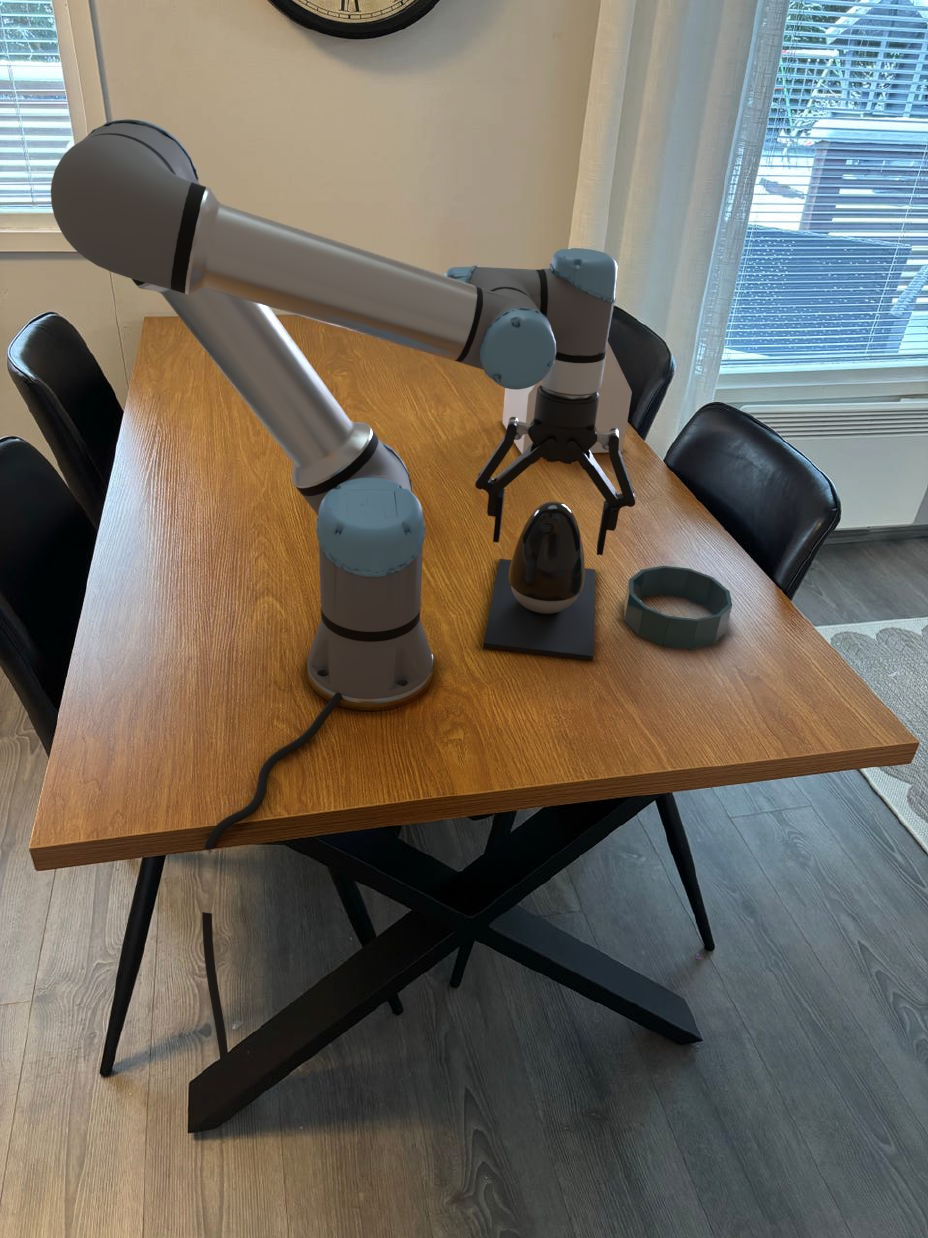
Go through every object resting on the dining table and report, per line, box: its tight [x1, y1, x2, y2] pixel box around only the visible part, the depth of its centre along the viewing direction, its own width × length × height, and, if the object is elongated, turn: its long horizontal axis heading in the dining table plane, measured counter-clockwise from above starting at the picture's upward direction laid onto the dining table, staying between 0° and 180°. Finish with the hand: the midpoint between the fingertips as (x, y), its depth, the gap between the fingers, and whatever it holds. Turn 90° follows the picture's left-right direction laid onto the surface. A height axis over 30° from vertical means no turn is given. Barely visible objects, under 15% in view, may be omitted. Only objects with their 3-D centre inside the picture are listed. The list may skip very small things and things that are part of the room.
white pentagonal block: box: [502, 341, 633, 455], centre depth 176 cm, size 19×15×25 cm
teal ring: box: [623, 565, 733, 650], centre depth 130 cm, size 14×14×4 cm
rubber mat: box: [482, 558, 596, 662], centre depth 132 cm, size 22×14×1 cm, turn 173°
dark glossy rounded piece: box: [508, 500, 586, 614], centre depth 128 cm, size 10×10×15 cm
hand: (548, 544), depth 127 cm, fingers open, 13 cm apart
